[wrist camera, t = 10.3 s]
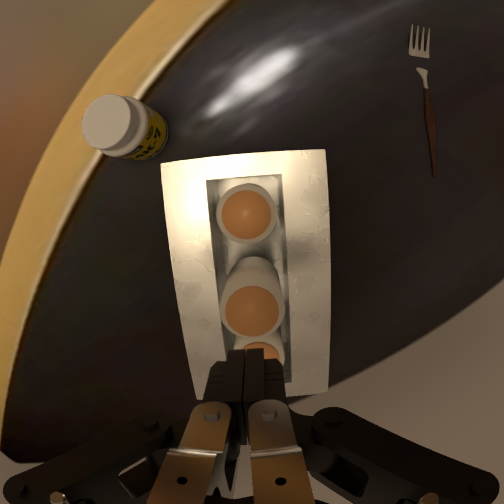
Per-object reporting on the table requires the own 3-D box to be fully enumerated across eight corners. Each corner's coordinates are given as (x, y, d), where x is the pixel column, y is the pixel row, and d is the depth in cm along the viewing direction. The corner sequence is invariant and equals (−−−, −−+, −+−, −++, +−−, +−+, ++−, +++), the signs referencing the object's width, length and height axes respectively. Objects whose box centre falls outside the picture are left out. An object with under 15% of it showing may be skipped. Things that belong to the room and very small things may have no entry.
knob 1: (271, 181, 25) (274, 181, 20) (274, 229, 26) (279, 243, 21) (223, 185, 26) (212, 186, 20) (227, 232, 27) (218, 247, 21)
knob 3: (279, 306, 28) (284, 337, 22) (281, 344, 29) (285, 380, 23) (235, 308, 28) (229, 341, 22) (239, 346, 29) (235, 383, 23)
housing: (314, 156, 26) (332, 149, 19) (319, 350, 30) (333, 391, 24) (179, 167, 27) (153, 164, 20) (203, 357, 31) (191, 399, 24)
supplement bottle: (143, 170, 27) (101, 169, 19) (113, 138, 26) (65, 127, 18) (180, 133, 26) (148, 116, 18) (148, 101, 25) (108, 75, 17)
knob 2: (278, 254, 24) (283, 279, 18) (280, 303, 25) (286, 339, 19) (225, 258, 24) (214, 283, 18) (230, 306, 25) (222, 343, 19)
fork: (420, 176, 27) (430, 176, 25) (402, 30, 23) (410, 23, 21) (441, 177, 27) (451, 177, 25) (422, 35, 23) (431, 28, 21)
